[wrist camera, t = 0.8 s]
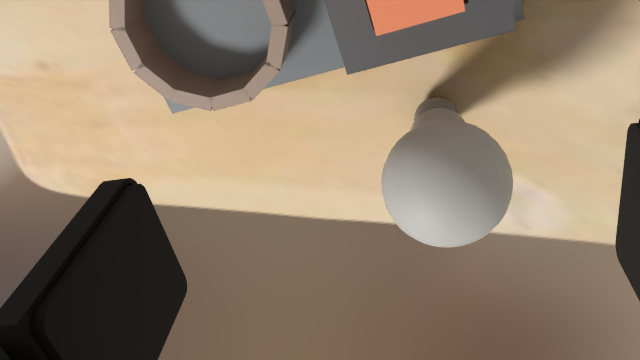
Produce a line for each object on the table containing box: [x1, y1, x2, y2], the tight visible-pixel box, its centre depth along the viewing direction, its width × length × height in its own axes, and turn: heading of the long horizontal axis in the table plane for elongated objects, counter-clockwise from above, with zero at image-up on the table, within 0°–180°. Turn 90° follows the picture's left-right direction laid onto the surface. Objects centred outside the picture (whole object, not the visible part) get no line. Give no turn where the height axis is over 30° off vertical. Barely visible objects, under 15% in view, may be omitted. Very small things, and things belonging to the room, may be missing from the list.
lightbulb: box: [382, 97, 513, 247], centre depth 28 cm, size 6×6×11 cm
